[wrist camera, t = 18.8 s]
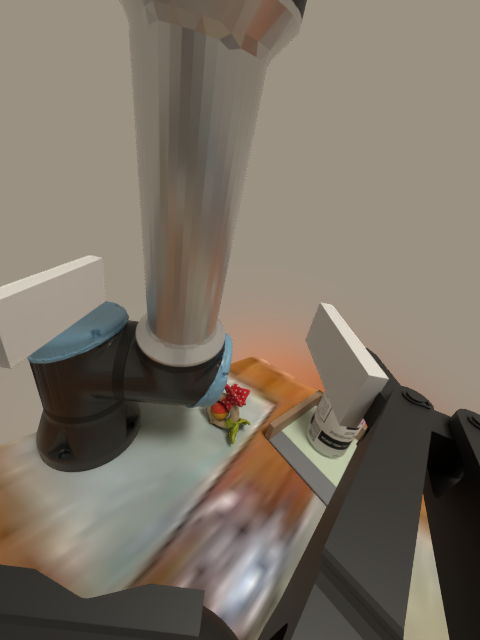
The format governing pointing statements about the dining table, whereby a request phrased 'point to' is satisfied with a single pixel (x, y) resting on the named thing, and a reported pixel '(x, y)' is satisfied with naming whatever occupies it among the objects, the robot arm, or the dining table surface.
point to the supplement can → (330, 431)
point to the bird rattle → (229, 409)
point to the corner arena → (308, 449)
